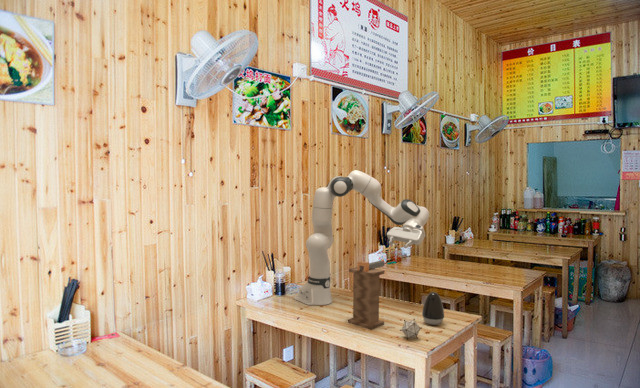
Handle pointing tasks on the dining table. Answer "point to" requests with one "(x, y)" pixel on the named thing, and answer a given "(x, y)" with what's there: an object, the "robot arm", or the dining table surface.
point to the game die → (411, 329)
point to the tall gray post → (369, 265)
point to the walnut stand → (366, 298)
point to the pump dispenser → (433, 309)
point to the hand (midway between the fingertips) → (397, 245)
